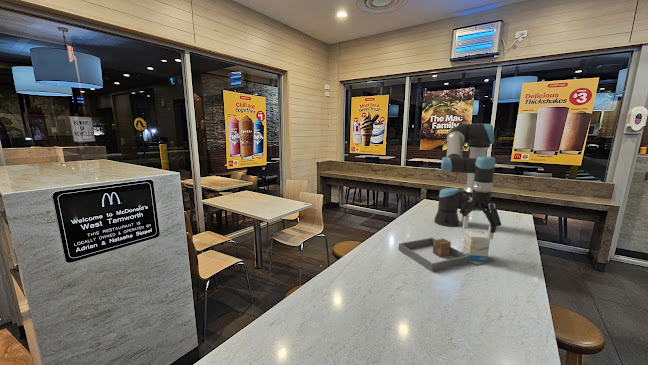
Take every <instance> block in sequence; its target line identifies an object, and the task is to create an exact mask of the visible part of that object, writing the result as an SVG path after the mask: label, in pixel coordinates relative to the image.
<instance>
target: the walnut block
mask: <svg viewBox="0 0 648 365" xmlns="http://www.w3.org/2000/svg"><path fill="white" fill-rule="evenodd" d="M451 246H452V242H451V241H449V240H448V239H445V238H439V239H438V238H437V239H436V240H434V243H433V245H432V254H433V255H435V256H436V257H438V258H444V257H447V256H450V247H451Z"/></svg>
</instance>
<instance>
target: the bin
mask: <svg viewBox="0 0 648 365" xmlns="http://www.w3.org/2000/svg"><path fill="white" fill-rule="evenodd" d="M434 240H437V239H436V238H434V237H428V238H421V239H416V240H412V241H406V242H400V243H398V251H400V252H401V253H402V254H404V255H405V256H407V257H408V258H410V259H412V260H413V261H415V262H416V263H418V264H419V265H421V266H423V267H424V268H425V269H426V270H428V271H430V272H432V273H433V272H437V271H441V270H445V269H450V268H453V267H458V266H461V265H467V264H469V263H470V262H469V256H468V255H466V254H464V253H462V252H463V251H459V250H458V249H455V248H454V247H451V246H450V255H451V256H453V257H454V258H451V259H445V260H441V261H436V262H431V261H430V260H429V259H427V258H424V257H423V256H422V255H420V254H418V253H417V252H415V251H414V250H412V249H414V248H420V247H425V246H426V247H427V246H430V245H432V246H433V243H434ZM450 255H449V256H450Z"/></svg>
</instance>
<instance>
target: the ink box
mask: <svg viewBox="0 0 648 365" xmlns="http://www.w3.org/2000/svg"><path fill="white" fill-rule="evenodd" d="M463 237H464V238H463V247H462V252H463V253H464V254H466V255H468V256H469V260H479V261H487V260H488V257H489V249H490V243H491V242H490V241H491V239H490V240H488V239H487V238H488V234H486V233H485V232H484V231H479V230H478V231H477V230H464V236H463Z"/></svg>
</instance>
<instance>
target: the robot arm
mask: <svg viewBox="0 0 648 365" xmlns="http://www.w3.org/2000/svg"><path fill="white" fill-rule="evenodd" d="M446 143H447V150H446V156H444V157H441V164H440V168H441V169H440V170H441V171H442V172H444V173H445V172H446V173H458V174H460V173H461V174H467V175H466V176H467V177H466V186H465V187H464V188H463V189H462V191H461V190H460V189H459V188H456V187H446V188H442V189H441V190H439V195H438V206H437V207H438V208H437V212H436V214H435V216H434V219H433V220H434V223H435V224H437V225H440V226H444V227H459V225H460V219H459V215H458V210H459V214H461V215H462V218H461V220H462V230H467V229H469V221H470V220H469V219H470V215H469V214H471V212H482V213H484V215H485V216H486V219H487V221H488V222H489V224H490V225H488V232H487V236H488V238H487V239H488V240H490V241H491V240H493V239H494V233H496V231H497V227H500V226H502V222H501V219H500V216H499V215H500V214H499V213H498V210H497V203H491V202H490V200H491V198H492V190H493V183H494V174H495V168H496V158H495V157H493V156H488V155H487V150H488V149H489V148H491V145H494V143H495V131H494V126H493V124H491V123H462V124H458V125H457V126H455V127H453V128H451V129H450V130H449V131H448V133H447V135H446ZM463 144H467V147H468V149H469V150H470V151H469V157H463Z"/></svg>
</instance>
